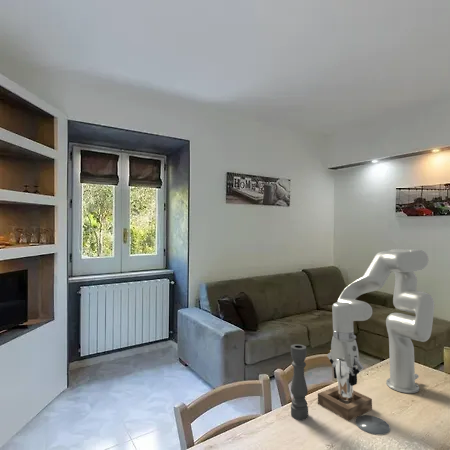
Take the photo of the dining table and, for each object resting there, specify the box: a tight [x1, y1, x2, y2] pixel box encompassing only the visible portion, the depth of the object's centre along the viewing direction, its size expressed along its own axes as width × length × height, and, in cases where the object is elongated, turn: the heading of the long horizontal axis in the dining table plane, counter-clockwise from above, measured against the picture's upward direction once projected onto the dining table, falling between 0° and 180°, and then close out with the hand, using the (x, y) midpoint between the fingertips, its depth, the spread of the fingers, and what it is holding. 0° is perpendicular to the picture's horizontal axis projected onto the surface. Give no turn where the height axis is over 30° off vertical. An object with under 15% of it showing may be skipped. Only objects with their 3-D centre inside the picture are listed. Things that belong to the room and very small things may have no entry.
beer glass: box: [335, 358, 354, 402], centre depth 124 cm, size 7×7×15 cm
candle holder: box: [290, 343, 309, 421], centre depth 118 cm, size 6×6×25 cm
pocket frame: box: [317, 385, 373, 422], centre depth 124 cm, size 14×14×4 cm
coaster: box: [354, 414, 391, 435], centre depth 111 cm, size 11×11×1 cm
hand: (345, 380), depth 124 cm, fingers closed on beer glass, 6 cm apart
